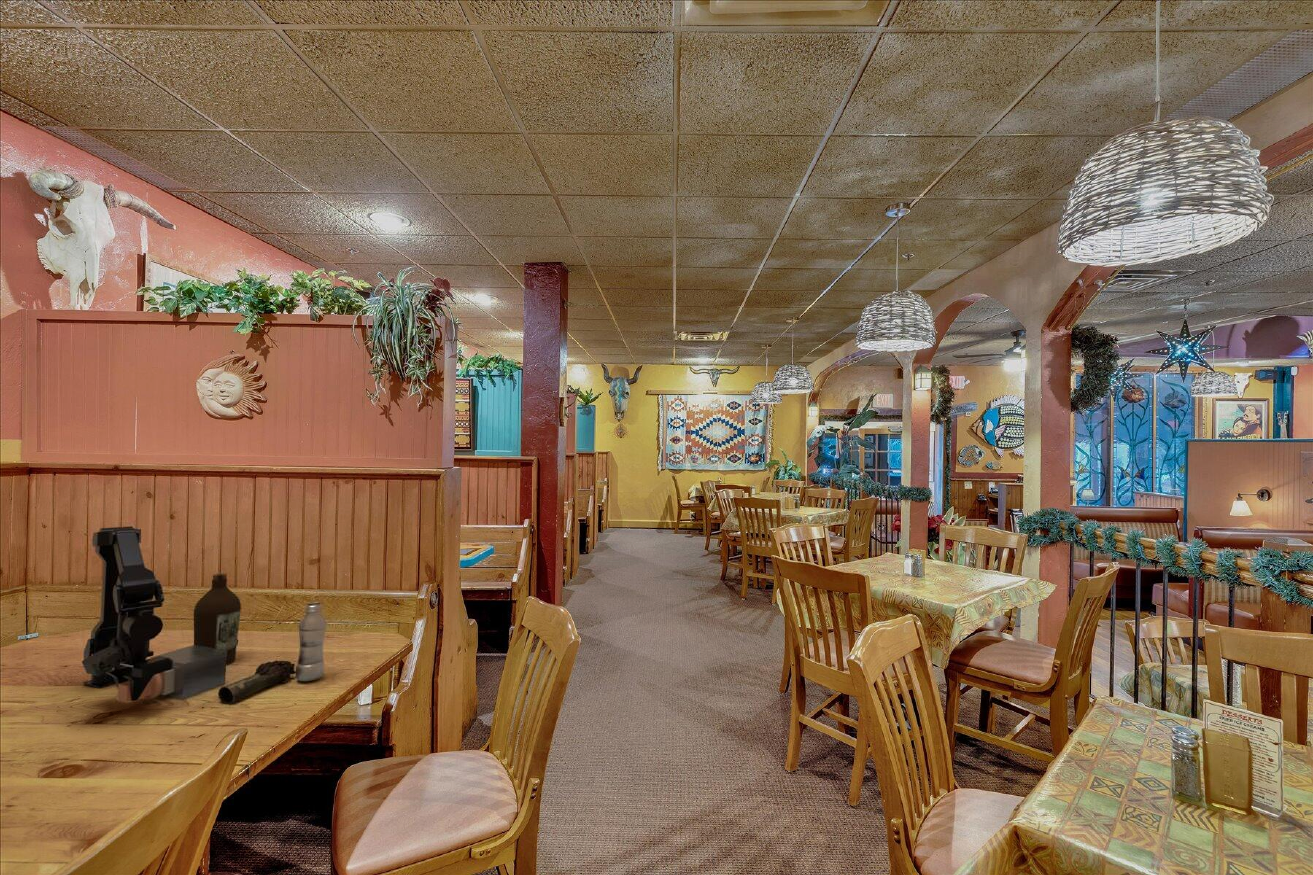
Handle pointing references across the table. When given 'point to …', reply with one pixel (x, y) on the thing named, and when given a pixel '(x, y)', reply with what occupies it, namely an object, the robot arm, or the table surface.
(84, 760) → the table surface
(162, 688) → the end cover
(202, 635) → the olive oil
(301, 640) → the plastic bottle
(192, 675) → the housing
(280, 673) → the metal pipe
